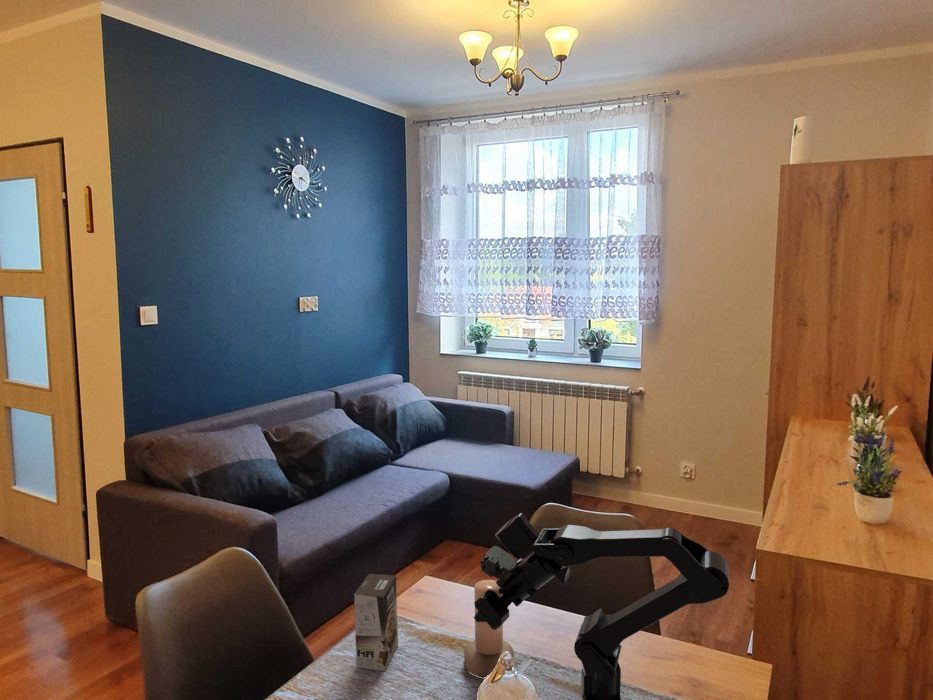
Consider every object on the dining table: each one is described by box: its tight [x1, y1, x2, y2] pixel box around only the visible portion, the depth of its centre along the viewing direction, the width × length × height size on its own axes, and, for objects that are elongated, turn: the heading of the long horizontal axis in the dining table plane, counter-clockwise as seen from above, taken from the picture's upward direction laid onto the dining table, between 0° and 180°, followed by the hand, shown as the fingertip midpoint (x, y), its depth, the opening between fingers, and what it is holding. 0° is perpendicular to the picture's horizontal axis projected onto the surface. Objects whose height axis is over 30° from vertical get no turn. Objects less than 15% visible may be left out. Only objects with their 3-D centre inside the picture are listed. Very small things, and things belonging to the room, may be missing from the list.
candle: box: [474, 579, 504, 655], centre depth 133 cm, size 6×6×13 cm
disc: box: [463, 639, 514, 678], centre depth 134 cm, size 10×10×3 cm
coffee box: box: [353, 573, 399, 672], centre depth 136 cm, size 9×6×16 cm
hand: (482, 612), depth 133 cm, fingers closed on candle, 6 cm apart
